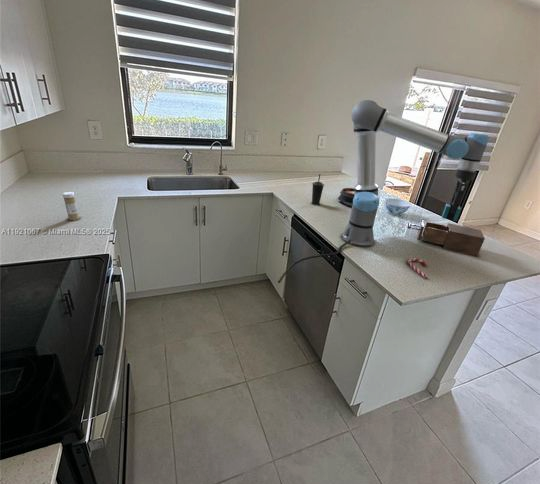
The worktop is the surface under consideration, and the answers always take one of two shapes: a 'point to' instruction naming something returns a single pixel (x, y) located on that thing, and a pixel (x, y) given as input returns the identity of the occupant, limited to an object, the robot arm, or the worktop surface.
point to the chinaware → (396, 206)
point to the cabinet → (464, 239)
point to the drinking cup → (317, 192)
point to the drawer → (431, 232)
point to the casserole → (347, 196)
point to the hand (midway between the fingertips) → (449, 217)
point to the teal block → (446, 211)
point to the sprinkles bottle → (70, 205)
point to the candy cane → (415, 267)
